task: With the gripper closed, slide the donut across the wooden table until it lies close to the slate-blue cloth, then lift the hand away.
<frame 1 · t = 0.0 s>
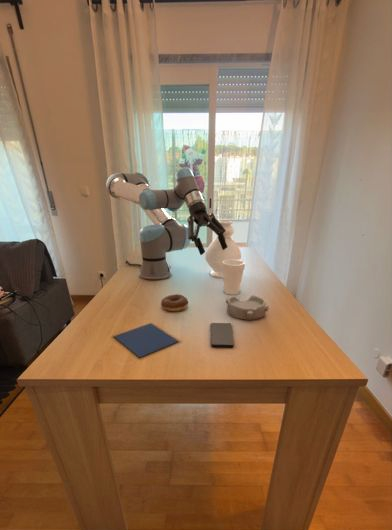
hand: (214, 251, 125), 15 cm above the table, tool tilted 35°, fingers open, 13 cm apart
foam cup: (231, 292, 125), on the table
decorative vase: (222, 274, 147), on the table
donut: (174, 307, 111), on the table
cloth: (145, 339, 90), on the table
smartphone: (221, 335, 92), on the table
dish: (246, 313, 106), on the table
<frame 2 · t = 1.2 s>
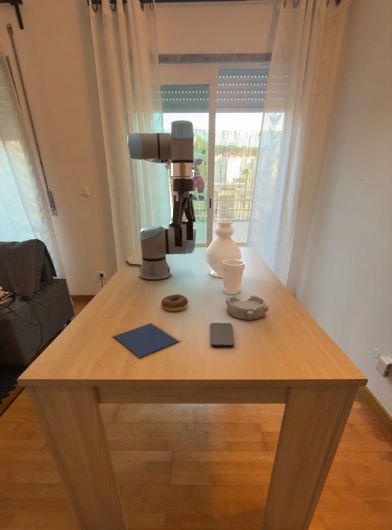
hand: (184, 243, 108), 22 cm above the table, tool pointing down, fingers open, 13 cm apart
nothing on the table moved.
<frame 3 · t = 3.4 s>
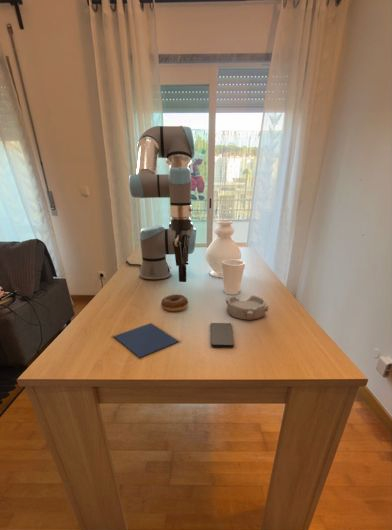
hand: (182, 281, 115), 7 cm above the table, tool pointing down, fingers closed
nothing on the table moved.
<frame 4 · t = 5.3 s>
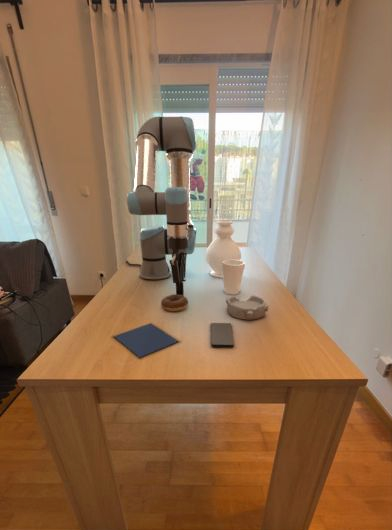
hand: (180, 297, 115), 2 cm above the table, tool pointing down, fingers closed
donut: (174, 307, 111), on the table, touching gripper
everything else where it was.
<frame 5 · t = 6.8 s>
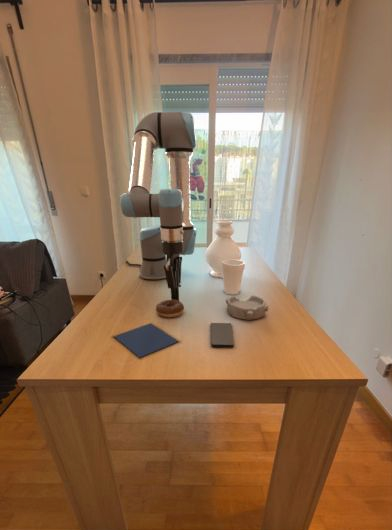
hand: (175, 303, 110), 1 cm above the table, tool pointing down, fingers closed
donut: (170, 313, 107), on the table, touching gripper
everything else where it was.
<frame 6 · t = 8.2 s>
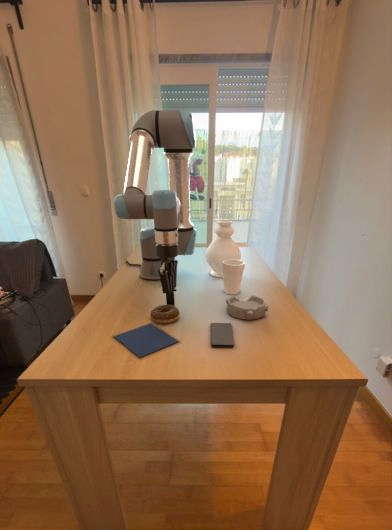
hand: (170, 308, 106), 1 cm above the table, tool pointing down, fingers closed
donut: (165, 319, 103), on the table, touching gripper
everything else where it was.
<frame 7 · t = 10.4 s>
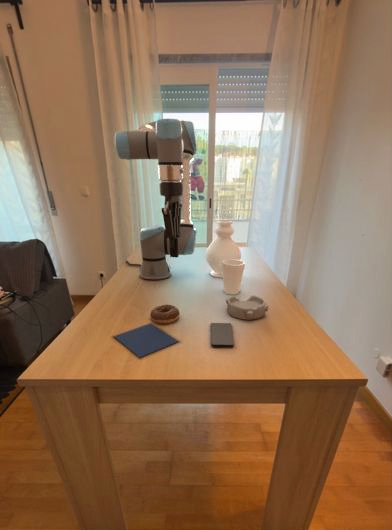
hand: (174, 256, 103), 19 cm above the table, tool pointing down, fingers closed
donut: (165, 319, 103), on the table
everything else where it was.
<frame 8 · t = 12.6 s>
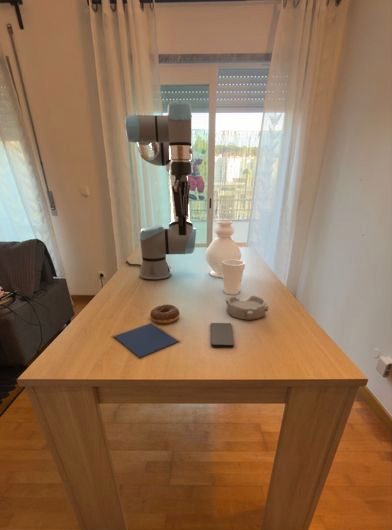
hand: (182, 234, 109), 24 cm above the table, tool pointing down, fingers closed
nothing on the table moved.
at the end: donut 15.7 cm from the cloth (horizontally); donut moved 10.4 cm from its start; the gripper is holding nothing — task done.
